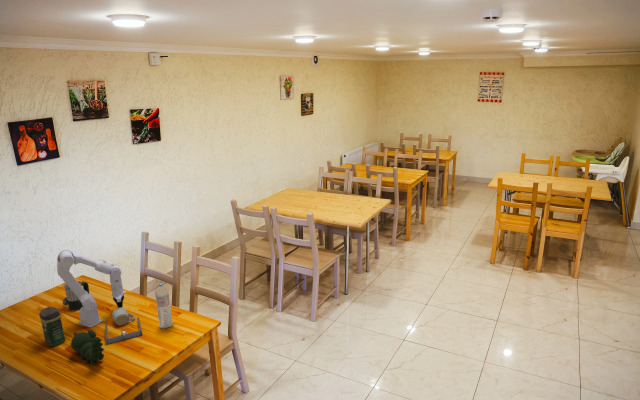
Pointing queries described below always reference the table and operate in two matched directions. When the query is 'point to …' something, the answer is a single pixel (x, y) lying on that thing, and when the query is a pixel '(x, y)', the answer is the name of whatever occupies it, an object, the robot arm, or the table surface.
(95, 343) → the toy figurine
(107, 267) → the robot arm
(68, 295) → the milk frother
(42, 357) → the table surface
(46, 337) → the coffee jar
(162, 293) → the water bottle
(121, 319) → the ceramic mug
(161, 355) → the table surface
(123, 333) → the coupler cradle
